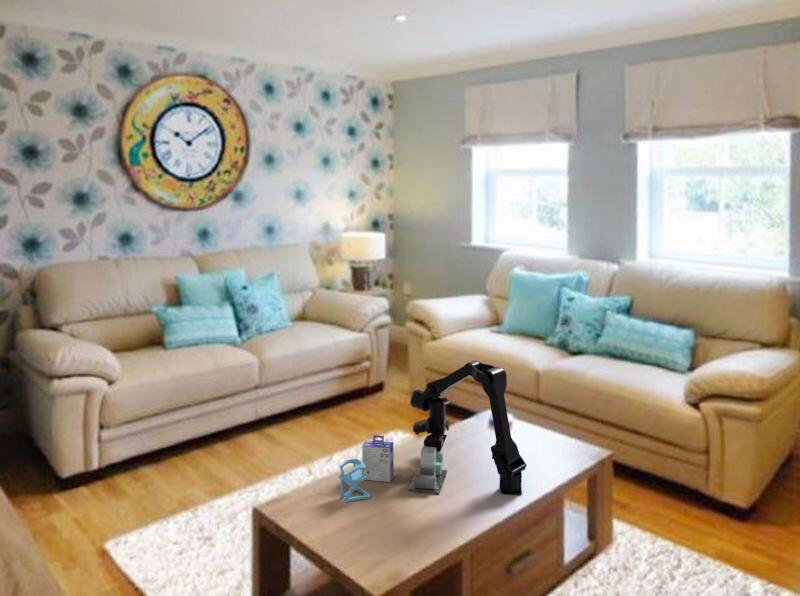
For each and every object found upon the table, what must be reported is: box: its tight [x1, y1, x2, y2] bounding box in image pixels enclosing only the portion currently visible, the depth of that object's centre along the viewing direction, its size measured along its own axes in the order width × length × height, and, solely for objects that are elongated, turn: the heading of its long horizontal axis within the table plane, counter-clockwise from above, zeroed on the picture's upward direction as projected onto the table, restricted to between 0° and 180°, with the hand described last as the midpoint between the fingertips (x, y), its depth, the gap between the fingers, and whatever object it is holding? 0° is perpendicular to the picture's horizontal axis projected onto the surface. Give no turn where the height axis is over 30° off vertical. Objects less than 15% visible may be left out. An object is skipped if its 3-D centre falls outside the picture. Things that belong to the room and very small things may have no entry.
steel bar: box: [420, 445, 436, 476], centre depth 216 cm, size 4×4×10 cm
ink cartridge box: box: [361, 434, 395, 483], centre depth 218 cm, size 10×6×14 cm, turn 79°
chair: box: [338, 458, 371, 503], centre depth 206 cm, size 8×8×12 cm
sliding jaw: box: [419, 450, 444, 475], centre depth 225 cm, size 11×7×4 cm, turn 167°
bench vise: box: [408, 466, 448, 495], centre depth 216 cm, size 16×10×5 cm, turn 167°
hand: (437, 456), depth 232 cm, fingers closed
